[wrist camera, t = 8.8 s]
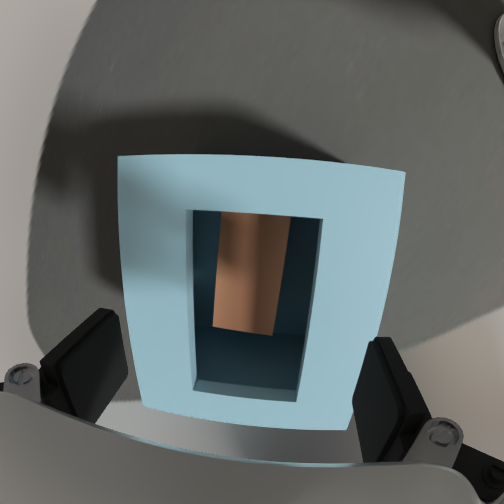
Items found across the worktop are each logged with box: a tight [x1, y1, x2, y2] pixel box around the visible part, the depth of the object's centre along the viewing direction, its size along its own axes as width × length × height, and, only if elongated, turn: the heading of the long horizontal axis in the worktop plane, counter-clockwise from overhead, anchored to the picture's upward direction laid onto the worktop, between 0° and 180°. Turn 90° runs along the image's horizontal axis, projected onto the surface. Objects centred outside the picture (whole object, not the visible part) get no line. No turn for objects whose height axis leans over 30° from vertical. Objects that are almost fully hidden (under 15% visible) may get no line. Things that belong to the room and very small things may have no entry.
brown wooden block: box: [213, 211, 291, 336], centre depth 19 cm, size 4×7×6 cm, turn 174°
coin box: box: [118, 154, 405, 430], centre depth 18 cm, size 12×14×10 cm
